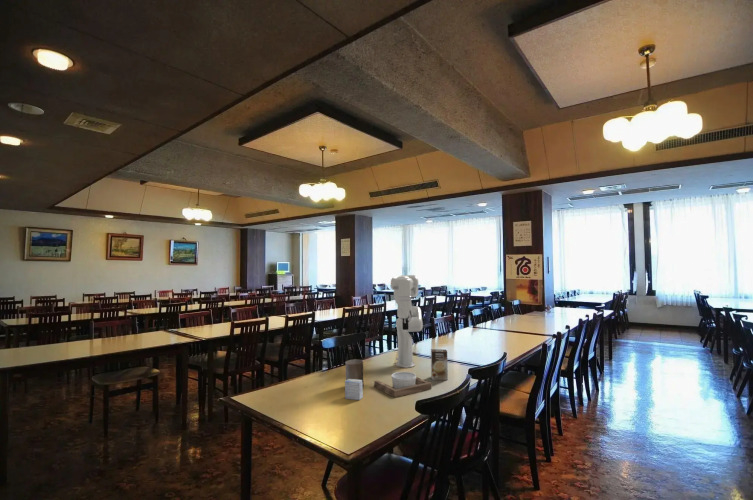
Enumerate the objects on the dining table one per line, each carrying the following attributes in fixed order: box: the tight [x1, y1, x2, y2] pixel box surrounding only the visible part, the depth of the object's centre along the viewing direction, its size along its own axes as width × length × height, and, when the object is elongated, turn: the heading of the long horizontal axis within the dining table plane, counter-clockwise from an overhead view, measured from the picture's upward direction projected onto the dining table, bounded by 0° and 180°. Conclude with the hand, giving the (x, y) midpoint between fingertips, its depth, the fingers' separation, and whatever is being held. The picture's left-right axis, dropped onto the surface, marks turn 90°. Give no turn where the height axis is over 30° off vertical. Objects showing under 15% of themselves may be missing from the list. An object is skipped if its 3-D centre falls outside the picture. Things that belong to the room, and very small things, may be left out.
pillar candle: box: [344, 358, 365, 388], centre depth 194 cm, size 10×10×15 cm
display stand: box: [373, 376, 432, 398], centre depth 192 cm, size 20×23×3 cm
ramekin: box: [391, 371, 417, 389], centre depth 191 cm, size 13×13×7 cm
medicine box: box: [344, 379, 364, 401], centre depth 177 cm, size 8×4×9 cm, turn 71°
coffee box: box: [430, 348, 449, 381], centre depth 207 cm, size 9×6×16 cm
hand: (405, 329), depth 216 cm, fingers closed
